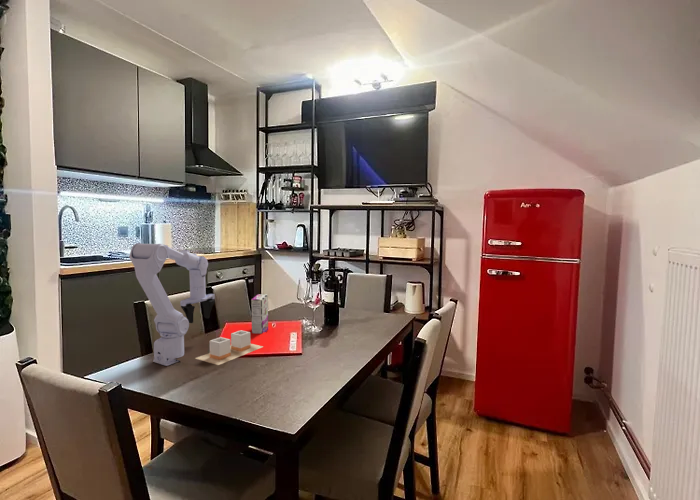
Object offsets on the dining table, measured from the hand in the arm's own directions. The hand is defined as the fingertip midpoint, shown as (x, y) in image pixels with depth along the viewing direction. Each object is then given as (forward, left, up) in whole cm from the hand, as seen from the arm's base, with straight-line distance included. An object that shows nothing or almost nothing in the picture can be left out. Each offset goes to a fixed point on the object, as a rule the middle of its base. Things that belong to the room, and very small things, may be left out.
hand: (198, 320), depth 151 cm
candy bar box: (+26, -8, -11) cm, 29 cm away
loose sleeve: (-6, -19, -9) cm, 22 cm away
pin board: (-1, -19, -10) cm, 22 cm away
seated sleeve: (+4, -19, -9) cm, 21 cm away
